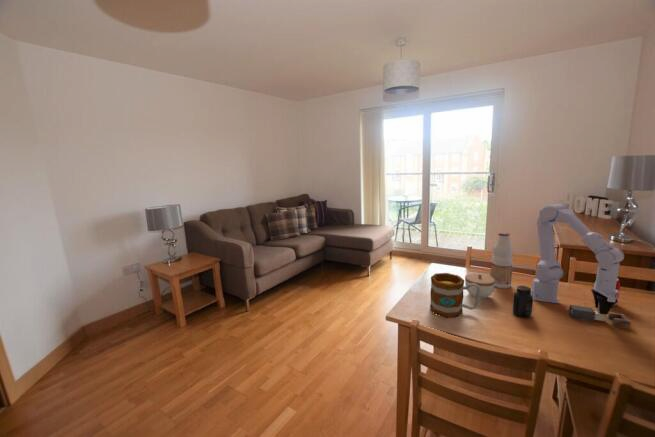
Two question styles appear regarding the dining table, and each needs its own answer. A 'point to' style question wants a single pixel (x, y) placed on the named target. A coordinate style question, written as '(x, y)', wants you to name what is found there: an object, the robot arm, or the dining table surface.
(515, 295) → the supplement bottle
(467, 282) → the lidded bowl
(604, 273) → the robot arm
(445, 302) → the mug
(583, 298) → the dining table surface
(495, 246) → the fruit juice
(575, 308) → the sleeve
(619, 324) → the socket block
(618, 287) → the soda can
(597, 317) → the sliding bolt
